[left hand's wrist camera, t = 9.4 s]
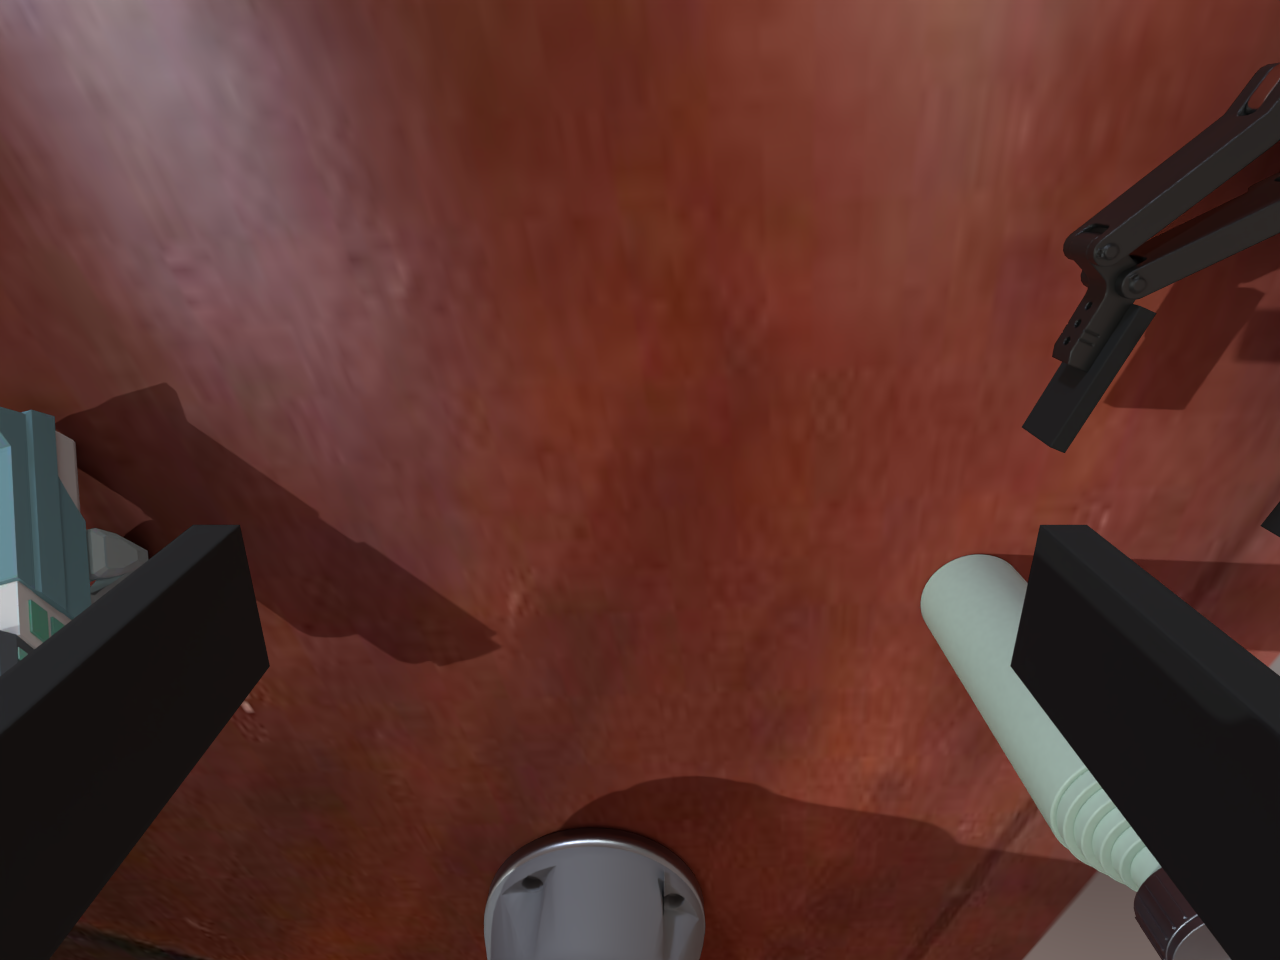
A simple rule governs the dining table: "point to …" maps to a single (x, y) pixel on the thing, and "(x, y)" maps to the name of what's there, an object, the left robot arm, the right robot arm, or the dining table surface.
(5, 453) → the toy gun
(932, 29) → the dining table surface
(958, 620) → the bottle
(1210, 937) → the cap
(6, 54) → the dining table surface
